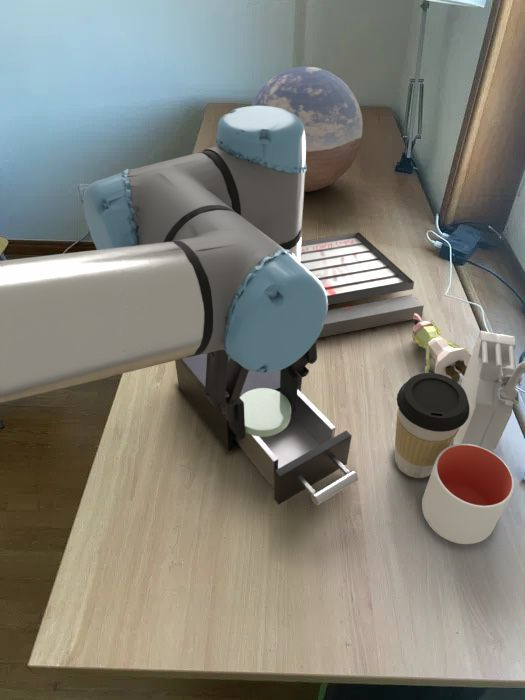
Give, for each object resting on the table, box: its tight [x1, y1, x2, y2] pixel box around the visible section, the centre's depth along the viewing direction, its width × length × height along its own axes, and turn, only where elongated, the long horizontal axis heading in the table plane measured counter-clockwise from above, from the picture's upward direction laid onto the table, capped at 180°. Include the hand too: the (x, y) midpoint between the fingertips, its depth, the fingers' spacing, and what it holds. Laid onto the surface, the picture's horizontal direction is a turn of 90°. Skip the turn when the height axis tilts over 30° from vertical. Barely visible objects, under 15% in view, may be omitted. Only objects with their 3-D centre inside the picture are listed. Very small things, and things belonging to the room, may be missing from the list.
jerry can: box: [452, 330, 525, 454], centre depth 81 cm, size 15×5×25 cm, turn 165°
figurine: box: [409, 313, 471, 383], centre depth 101 cm, size 9×7×15 cm
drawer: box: [233, 389, 359, 506], centre depth 83 cm, size 21×13×7 cm, turn 34°
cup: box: [421, 444, 515, 545], centre depth 76 cm, size 10×10×10 cm
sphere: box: [250, 65, 364, 193], centre depth 145 cm, size 30×30×30 cm
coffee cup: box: [394, 372, 470, 479], centre depth 82 cm, size 10×10×15 cm
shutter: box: [300, 231, 425, 339], centre depth 120 cm, size 32×7×31 cm
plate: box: [240, 388, 291, 437], centre depth 72 cm, size 7×7×2 cm
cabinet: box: [174, 353, 302, 452], centre depth 93 cm, size 17×14×9 cm
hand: (263, 418), depth 72 cm, fingers closed on plate, 7 cm apart
